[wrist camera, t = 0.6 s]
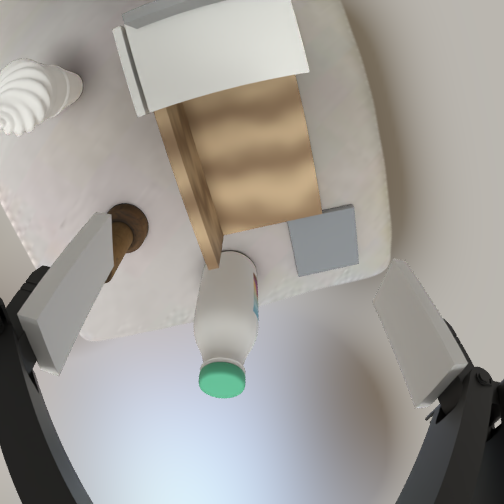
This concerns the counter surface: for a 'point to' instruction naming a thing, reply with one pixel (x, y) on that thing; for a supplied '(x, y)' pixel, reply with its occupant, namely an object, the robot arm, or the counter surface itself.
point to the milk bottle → (226, 323)
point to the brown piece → (241, 160)
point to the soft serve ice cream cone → (34, 94)
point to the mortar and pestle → (126, 232)
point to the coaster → (324, 240)
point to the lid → (205, 48)
